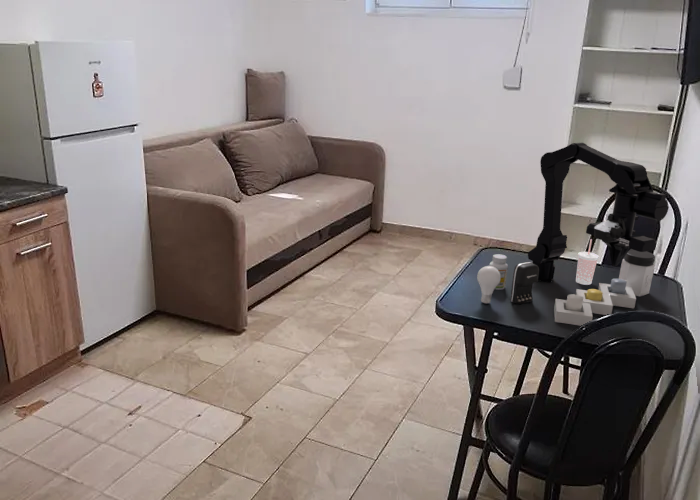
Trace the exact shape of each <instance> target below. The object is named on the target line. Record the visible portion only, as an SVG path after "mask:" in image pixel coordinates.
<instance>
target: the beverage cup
mask: <svg viewBox="0 0 700 500" xmlns="http://www.w3.org/2000/svg"><path fill="white" fill-rule="evenodd" d="M592 242H593V239H592V238H590V240H589V245H588V250H587V251H579V252H578V253H577V257H578V258H577V266H576V275H575V276H576V277H575V283H577V284H580V285H585V286H588V285H589V286H590V285H591V284H592V283H593V278H594V274H595V270H596V266H597V262H598V261H599V259H600V255H598V254H596V253H594V252H592V251H591V248H592Z"/></svg>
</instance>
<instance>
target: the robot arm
mask: <svg viewBox="0 0 700 500" xmlns="http://www.w3.org/2000/svg"><path fill="white" fill-rule="evenodd" d="M577 161H581V162H582V163H585V164H586V165H588V166H591V167H593V168H595V169H597V170H599V171H600V172H602V173H604V174H606V175H607V176H608V177H609V178H610V180H611V181H612V182H613V183H614V184H615V185H614V186H613V187H611V188H609V190H608V191H609V192H610V193H612V194H615V198H614V203H613V204H614V205H613V210H612V213H608V216H607V219H606V220H605V221H604V220H603V221H602V222H601V221H599V222H592V223H590V222H589V224H588V225H587V226H586V229H585V230H586V231H585V234H588V235H591V236H594V239H596V240H600V241H602V242H603V243H604V244H605V245H606V246H607V248H608V252H609V257H610V261H611V266H612V267H618V266H619V265H620V263H621V262H622V260H623V259H624V257H625V255H626V254H627V252H628V251H629V250H631V249H633V250H636V251H639V252H645V251H647V252H650V251H656V249H657V248H656V247H657V242H656V240H655V238H652V237H647V236H645V235H641V236H640V235H639V236H635V235H636V230H634V228H635V227H634V226H635V221H639V217H643V218H646V219H650V220H655V221H658V222H659V221H662V220H663V219H664V218H665V217H666V215H668V211H669V203H668V200H667V199H666V198H667V194H665V193H658V192H654V189H653V186H652V184H651V182H650V180H649V177H648V172H647V168H646V166H644V165H643V164H639V163H635V162H631V161H624V160H619V159H617V158H615V157H613V156H610V155H608V154H606V153H603V151H600V150H597V149H596V148H593V147H591V146H589V145H588V144H587V143H584V142H573V143H570V144H568V145H567V146H564V147H563V148H560V149H558V150H553V151H550V152H545V153H544V154H543V155H542V156H541V157H540V162H539V163H540V173H541V176H542V177H543V179H544V181H545V185H544V186H545V187H544V204H543V206H544V208H543V221H542V222H543V225H542V226H543V227H542V229H541V231H540V233H539V235H538V237H537V240H536V245H535V247H533V248H532V249H531V250H529V251H528V252H527V258H528V260H529V261H531V262H532V263H533V264H535V265H537V266H538V267H539V275H538V282H544V283H545V282H546V283H552V280H553V279H554V277H555V271H556V265H555V261H558V260H559V259H560V258H561V256H562V255H563V254H565V251H566V249H568V246H567V241H568V236H567V234H563V233H562V230H561V221H562V220H561V219H562V204H563V203H562V202H563V188H564V187H563V186H564V182H565V180H566V177H567V176H568V175H569V171H570V166H571V165H572V164H574V163H576V162H577Z"/></svg>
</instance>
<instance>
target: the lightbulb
mask: <svg viewBox="0 0 700 500" xmlns="http://www.w3.org/2000/svg"><path fill="white" fill-rule="evenodd" d="M476 277H477V278H476V279H477V283H478V284H479V286H480V291H481V298H480V301H481V302H482V303H483V304H485V305H487V304H490V303H491V302H492V294H493V293H494V291H495V288H496V286H497V285H498V284H499V283H500V280H501V275H500V272H499V271H498V269H496V268H495V267H493V266H489V265H485V266H483V267H481V268H480V269H479V270H478V272H477V276H476Z"/></svg>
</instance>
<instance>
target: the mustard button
mask: <svg viewBox="0 0 700 500" xmlns="http://www.w3.org/2000/svg"><path fill="white" fill-rule="evenodd" d="M602 294H603V292H602V291H600V290H598V289H596V288H589V289H587V296H586V299H588V300H595V301H601V299H602Z"/></svg>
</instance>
